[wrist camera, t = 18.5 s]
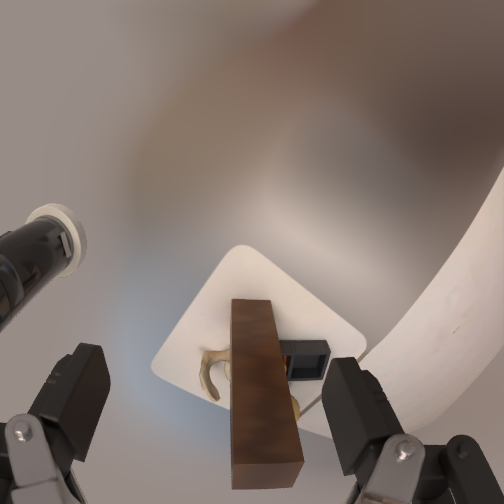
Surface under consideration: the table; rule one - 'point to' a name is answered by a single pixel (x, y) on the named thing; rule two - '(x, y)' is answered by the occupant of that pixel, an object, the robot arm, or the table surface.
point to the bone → (206, 363)
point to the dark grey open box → (305, 359)
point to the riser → (260, 402)
